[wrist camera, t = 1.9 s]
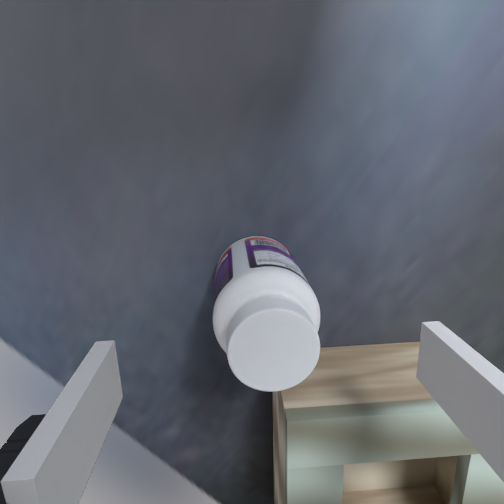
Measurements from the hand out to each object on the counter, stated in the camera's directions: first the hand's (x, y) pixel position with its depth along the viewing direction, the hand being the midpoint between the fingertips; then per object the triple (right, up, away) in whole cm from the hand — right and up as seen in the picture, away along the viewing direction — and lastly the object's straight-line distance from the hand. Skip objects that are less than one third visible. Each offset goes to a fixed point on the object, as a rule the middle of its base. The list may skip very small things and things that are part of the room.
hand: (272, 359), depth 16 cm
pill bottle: (-1, +3, +9) cm, 10 cm away
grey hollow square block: (+8, -9, +13) cm, 18 cm away
